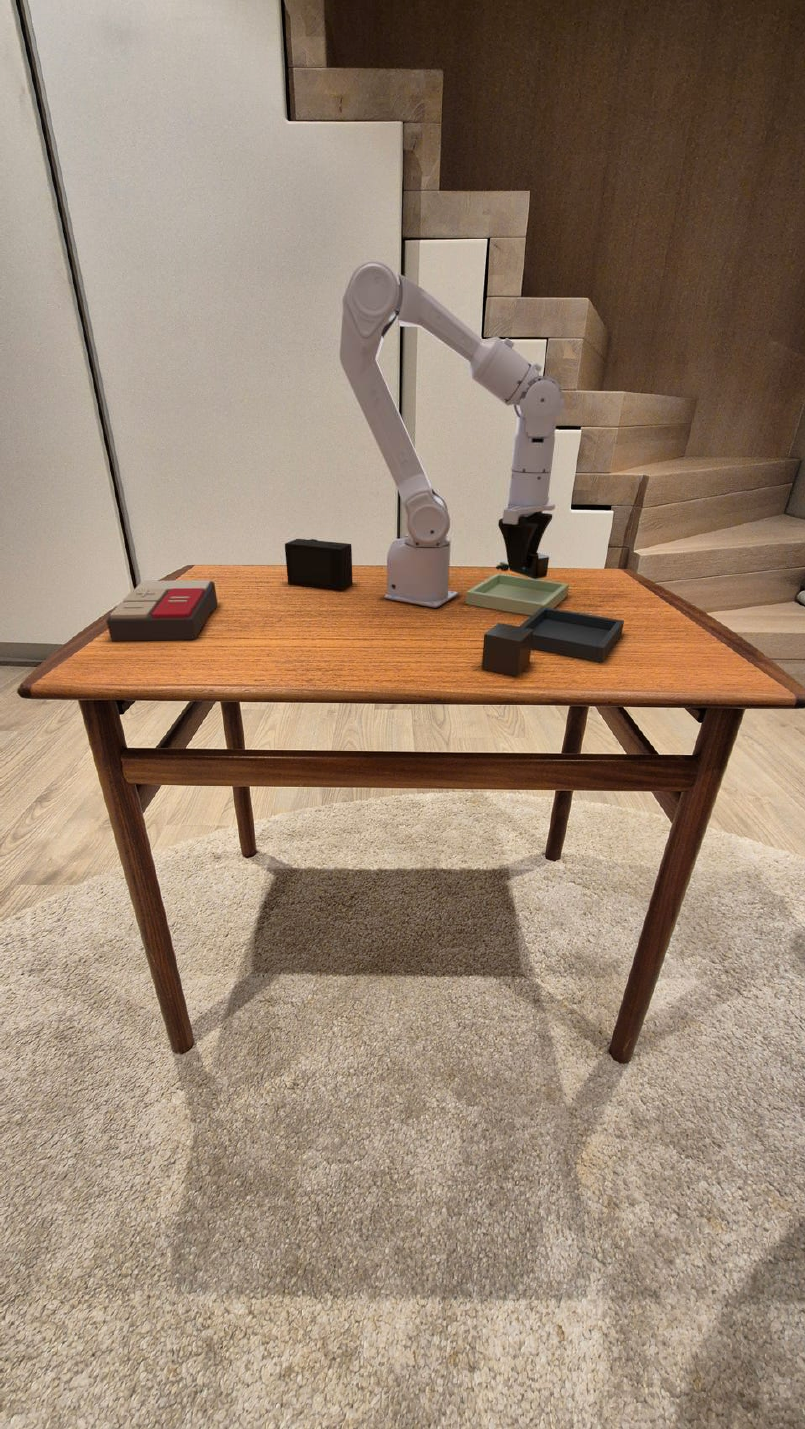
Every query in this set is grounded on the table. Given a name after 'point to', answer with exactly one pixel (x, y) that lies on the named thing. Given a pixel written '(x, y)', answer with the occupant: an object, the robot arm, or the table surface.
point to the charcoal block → (507, 649)
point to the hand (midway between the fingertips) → (521, 564)
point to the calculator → (163, 611)
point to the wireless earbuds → (530, 566)
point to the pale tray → (516, 594)
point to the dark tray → (573, 633)
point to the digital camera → (319, 564)
